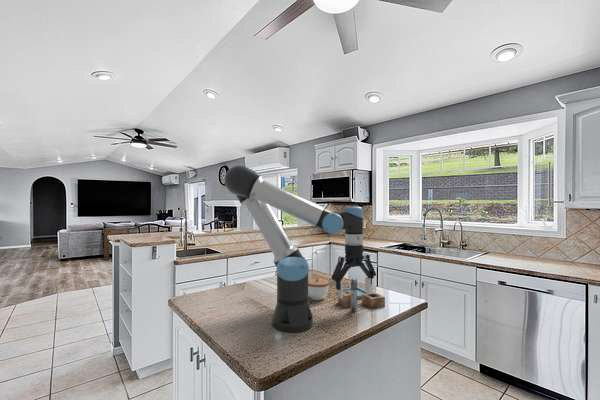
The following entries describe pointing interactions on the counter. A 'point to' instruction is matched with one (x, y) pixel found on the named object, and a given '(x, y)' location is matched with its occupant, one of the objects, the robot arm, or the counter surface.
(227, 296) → the counter surface
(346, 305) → the block
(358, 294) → the tray
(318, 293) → the lidded jar
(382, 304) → the block
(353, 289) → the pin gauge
